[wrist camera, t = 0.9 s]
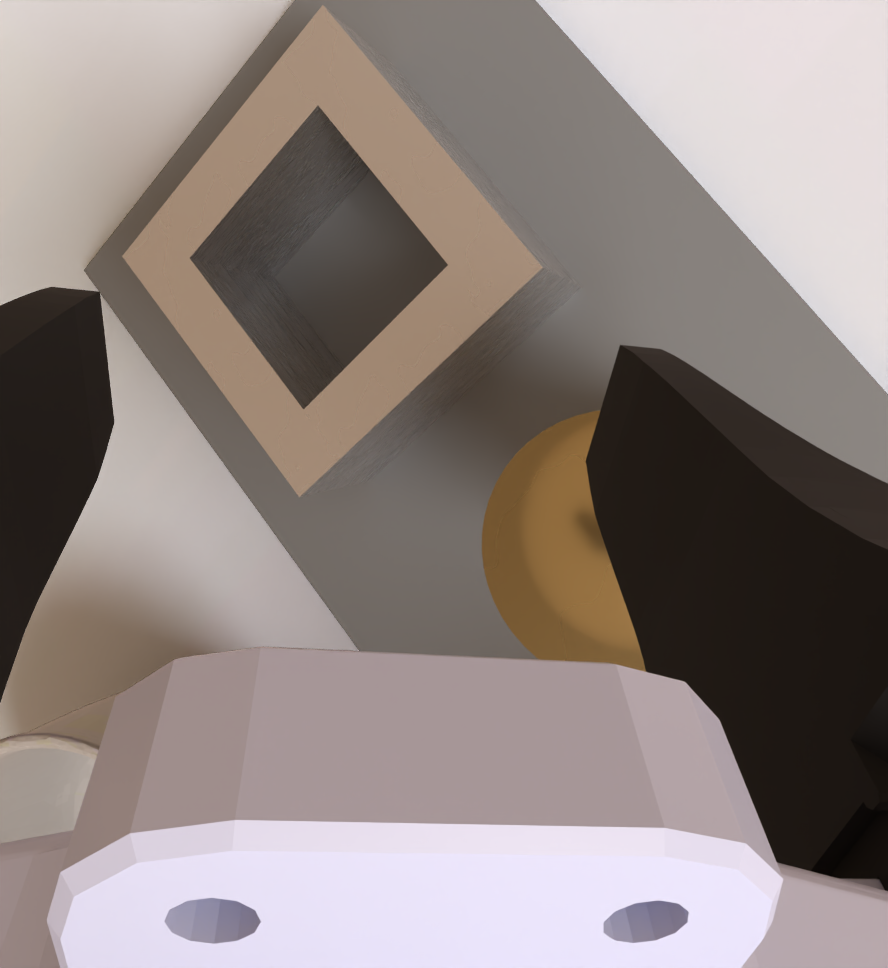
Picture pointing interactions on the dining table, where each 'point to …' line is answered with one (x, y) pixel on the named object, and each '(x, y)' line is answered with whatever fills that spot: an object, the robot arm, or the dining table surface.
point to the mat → (533, 363)
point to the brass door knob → (555, 554)
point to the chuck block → (294, 219)
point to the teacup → (49, 772)
